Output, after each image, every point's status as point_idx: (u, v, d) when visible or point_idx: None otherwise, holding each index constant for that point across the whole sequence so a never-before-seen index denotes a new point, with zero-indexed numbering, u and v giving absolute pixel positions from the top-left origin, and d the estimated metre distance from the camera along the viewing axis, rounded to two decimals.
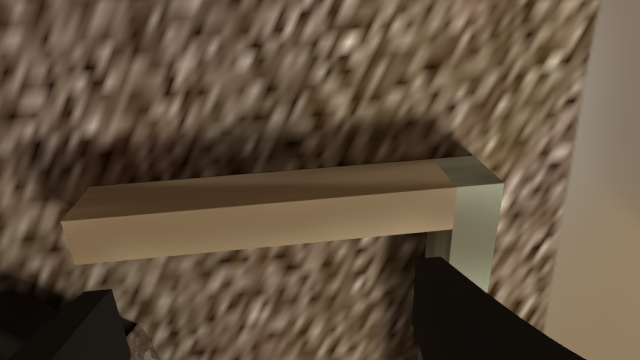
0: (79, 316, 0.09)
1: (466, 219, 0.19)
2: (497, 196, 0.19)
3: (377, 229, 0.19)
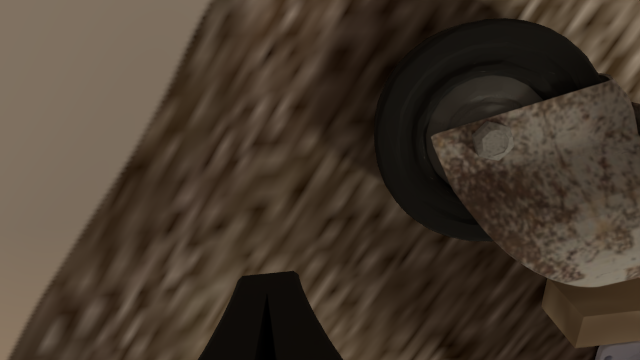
0: (256, 298, 0.09)
1: None
2: None
3: None
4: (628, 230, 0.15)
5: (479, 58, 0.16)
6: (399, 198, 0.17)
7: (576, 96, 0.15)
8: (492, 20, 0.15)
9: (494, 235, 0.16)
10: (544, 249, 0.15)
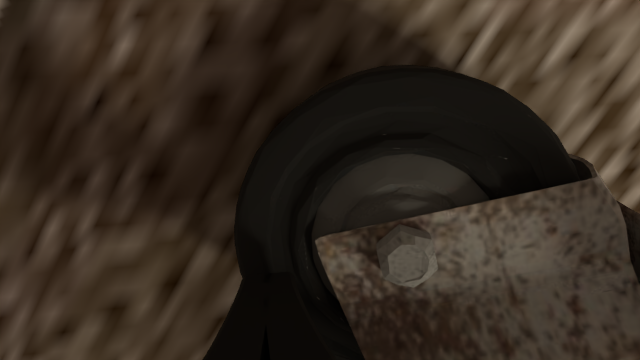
0: (261, 297, 0.09)
1: None
2: None
3: None
4: None
5: (392, 127, 0.10)
6: None
7: (538, 199, 0.10)
8: (412, 70, 0.09)
9: None
10: None
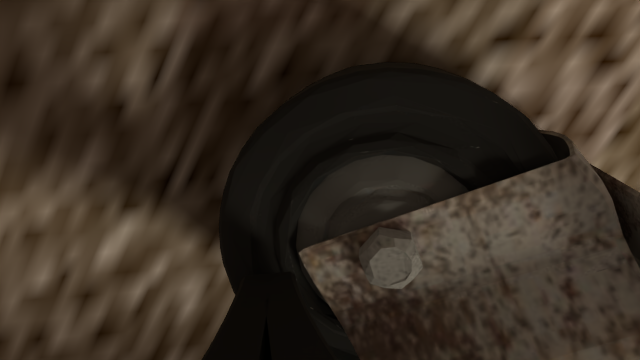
0: (260, 297, 0.09)
1: None
2: None
3: None
4: None
5: (358, 131, 0.10)
6: None
7: (516, 184, 0.09)
8: (369, 72, 0.09)
9: None
10: None
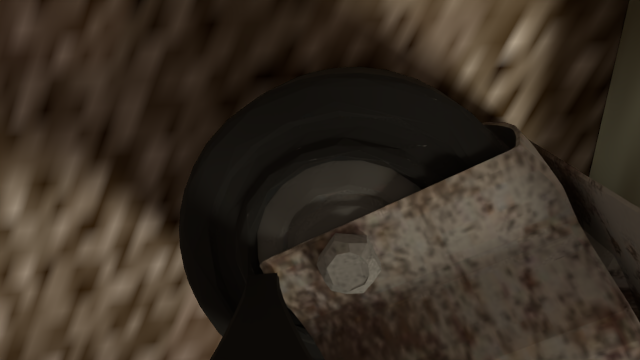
0: (267, 296, 0.09)
1: None
2: None
3: None
4: None
5: (305, 139, 0.10)
6: None
7: (465, 179, 0.09)
8: (308, 80, 0.09)
9: None
10: None
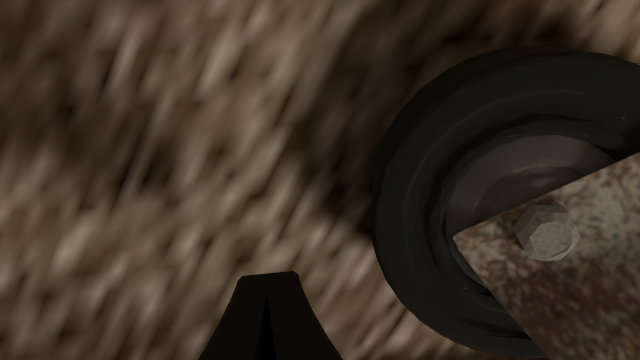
0: (256, 298, 0.09)
1: None
2: None
3: None
4: None
5: (504, 118, 0.10)
6: (425, 319, 0.12)
7: None
8: (513, 61, 0.10)
9: None
10: None
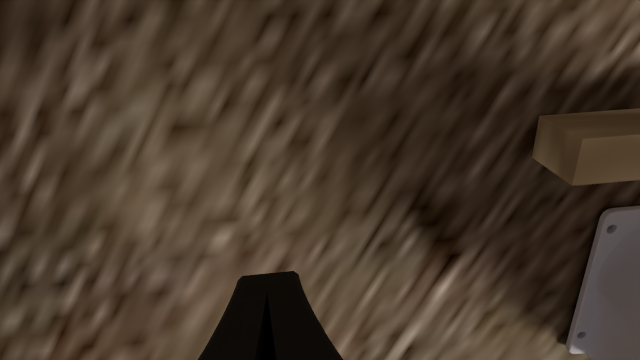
0: (257, 298, 0.09)
1: None
2: None
3: None
4: None
5: None
6: None
7: None
8: None
9: None
10: None
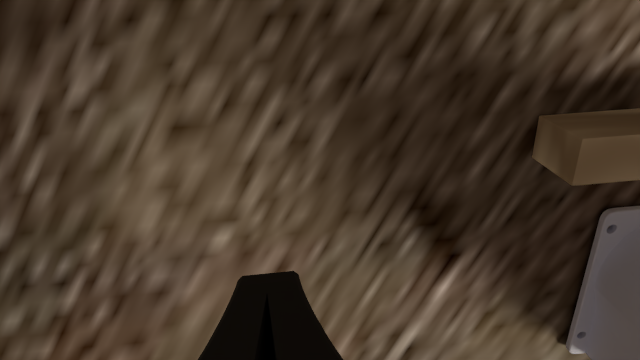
0: (257, 298, 0.09)
1: None
2: None
3: None
4: None
5: None
6: None
7: None
8: None
9: None
10: None
